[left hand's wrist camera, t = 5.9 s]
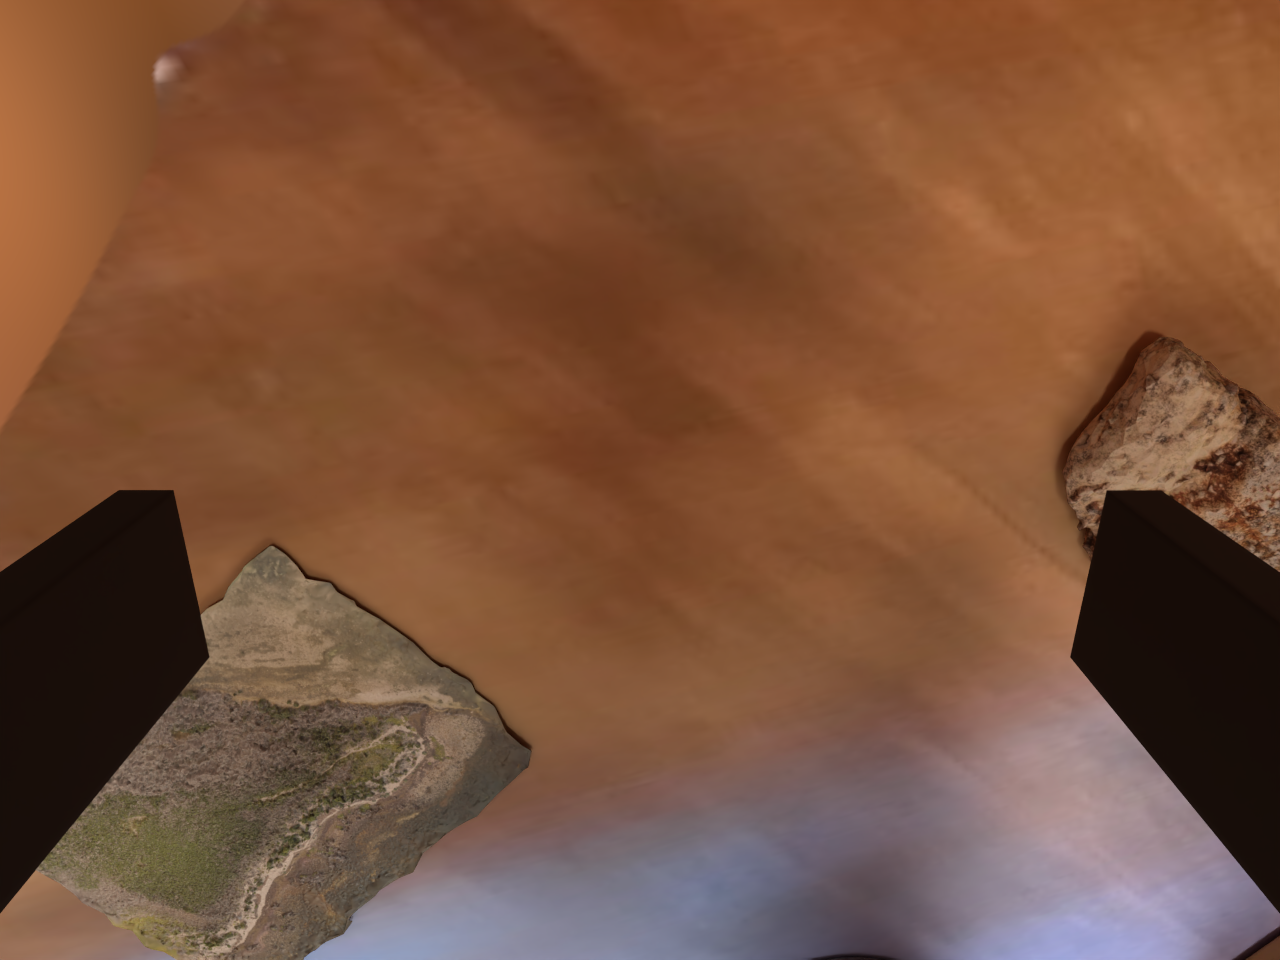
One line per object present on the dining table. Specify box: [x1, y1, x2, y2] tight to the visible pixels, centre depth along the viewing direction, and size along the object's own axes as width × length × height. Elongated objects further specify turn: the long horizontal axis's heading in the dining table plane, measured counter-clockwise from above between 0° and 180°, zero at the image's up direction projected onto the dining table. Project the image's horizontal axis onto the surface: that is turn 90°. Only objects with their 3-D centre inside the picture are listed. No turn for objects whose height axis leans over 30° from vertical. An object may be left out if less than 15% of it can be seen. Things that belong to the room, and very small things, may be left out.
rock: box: [1063, 337, 1280, 572], centre depth 40 cm, size 15×10×6 cm
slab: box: [36, 546, 531, 960], centre depth 49 cm, size 28×20×1 cm
